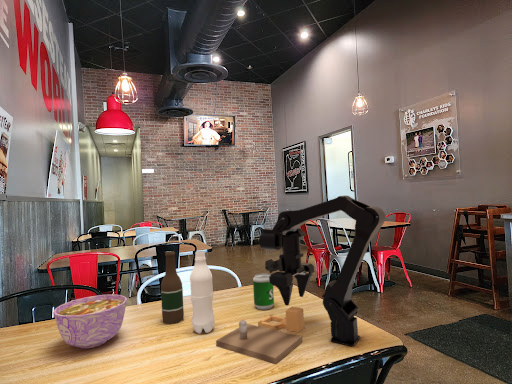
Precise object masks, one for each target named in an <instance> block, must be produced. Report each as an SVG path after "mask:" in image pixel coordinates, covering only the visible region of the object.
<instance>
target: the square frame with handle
mask: <svg viewBox="0 0 512 384" xmlns="http://www.w3.org/2000/svg"><path fill="white" fill-rule="evenodd" d="M271 321H274V322H278V323H276V324H275V323H271ZM257 326H259V327H263V328H268V329H272V330H276V331H280V330H281V329H282V328H283V329H286V330H287V331H289V332H290V331H291V332H295V333H299V332H301V331H302V330H304V329H305V313H304V308H303V307H296V306H291V307H289V308H287V309H286V310H285V317H284V316H278V315H275V314H274V315H273V314H269V315H267V316H266V317H264V318H263V319H261V320H260V321H258V322H257Z"/></svg>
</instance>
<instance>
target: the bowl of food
mask: <svg viewBox="0 0 512 384" xmlns="http://www.w3.org/2000/svg"><path fill="white" fill-rule="evenodd" d="M127 302H128V299H127V297H126V296H124V295H121V294H100V295H93V296H91V295H90V296H87V297H82V298H77V299H74V300H71V301H68V302H65V303H62V304H60V305H59V306H57V307H55V308H54V310H53V312H52V314H53V317H54V319H55V320H54V321H55V322H56V325H57V328H58V331H59V334H60V336H61V338H62V340H63V341H64V342H65V343H66V344H67V345H68V346H71V347H77V348H79V349H93V348H96V347H99V346H102V345H104V344H106V343H107V342H108V341H109V340H110V339H112V338H113V337H115V336H116V335H117V333H118V332H119V331H120V329H121V328H122V326H123V322H124V317H125V313H126V307H127ZM107 340H108V341H107Z"/></svg>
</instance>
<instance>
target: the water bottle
mask: <svg viewBox="0 0 512 384" xmlns="http://www.w3.org/2000/svg"><path fill="white" fill-rule="evenodd" d="M194 254H195V256H194V257H195V258H194V261H195V263H194V265H193V268H192V271H191V273H190V276H189V281H190V301H191V305H192V314H191V315H192V316H191V325H192V328H193V330H194V332H195V333H196V334H202V332H203V330H204V332H205V333H206V334H207V333H210V332H211V331H212V330H213V328H214V327H215V323H216V320H215V319H216V317H215V314H214V309H213V301H214V292H213V291H214V289H213V274H212V271H211V270H210V268H209V265H208V264H207V262H206V260H207V258H206V253H205V251H203V250H200V251H199V250H198V251H195V253H194Z"/></svg>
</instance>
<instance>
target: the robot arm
mask: <svg viewBox="0 0 512 384" xmlns="http://www.w3.org/2000/svg"><path fill="white" fill-rule="evenodd" d="M340 211H341V212H343V213H344V214H345V215H347V216H349V218H351V219H353V220H354V221H355V225H354V237H353V240H352V242H351V245H350V247H349V250H348V251H347V255H346V257H345V259H344V262H343V263H342V267H341V269H340V271H339V274H338V276H337V279H334V280H332V281H331V282H328V284H326V286H325V291H324V293H323V294H322V296H321V298H323V299H322V306H323V307H324V309H325V311H326V312H327V315H328V318H329V320H330V336H331V338H330V342H333V343H335V344H336V343H337V344H341V345H344V346H350V347H354V346H355V344H356V343H357V342H358V341H359V340H360V339H361V336H360V335H359V332H358V331H359V330H358V317H356V316H357V314H358V312H359V306H358V305H357V304H356V303H355V302H354V300H352V295H353V284H354V282H355V281H354V280H355V279H356V277H357V275H358V272H359V268H360V267H361V264H362V262H363V259H364V257H365V255H366V253H367V250H368V248H369V246H370V243H371V241H372V239H373V238H374V237H375V236H376V235H377V233H378V232H379V231H380V229H381V228H382V226H383V225H384V224H385V222H386V217H387V216H386V214H385V212H384V210H383V208H381V207H378V206H371V205H368V204H366V203H363V202H361V201H359V200H357V199H355V198H352V197H351V196H350V195H339V196H337V197H335V198H332V199H329V200H326V201H324V202H323V201H322V202H321V203H316V204H315V205H310V206H308V207H305V208H299V209H293V210H285V211H281V212H279V214H278V216H277V221H276V222H275V224H274V226H273V228H263V229H262V232H261V234H260V237H259V241H258V242H259V243H258V244H259V246H260V248H261V249H262V250H269V251H270V250H271V251H278V250H279V251H280V250H282V251H281V254H279V255H278V259H277V260H273V259H272V258H270V259H267V260H265V264H264V269H265V270H266V271H267V272H269V274H270V276H269V283H270V284H272V285H273V287H276V288H277V290H278V291H279V294H280V295H281V299H282V300H283V303H284V305H285V306H290V303H291V298H292V292H293V287H294V283H293V281H294V278H295V280H296V283H297V284H296V285H297V290H298V294H299V295H298V296H299V297H300V298H303V297H304V295H305V293H306V290H307V288H308V285H309V283H310V281H311V278H312V276H313V274H314V272H315V266H314V265H313V263H310V262H302V258H303V257H304V253H303V252H301V239H300V238H301V237H305V236H306V235H307V233H306V232H305V231H303V230H302V228H299V227H300V226H303V225H304V224H307V223H308V222H309V221H311V220H314V219H318V218H321V217H324V216H328V215H330V214H334V213H338V212H340ZM293 229H296V230H293ZM284 232H286V233H284Z"/></svg>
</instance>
